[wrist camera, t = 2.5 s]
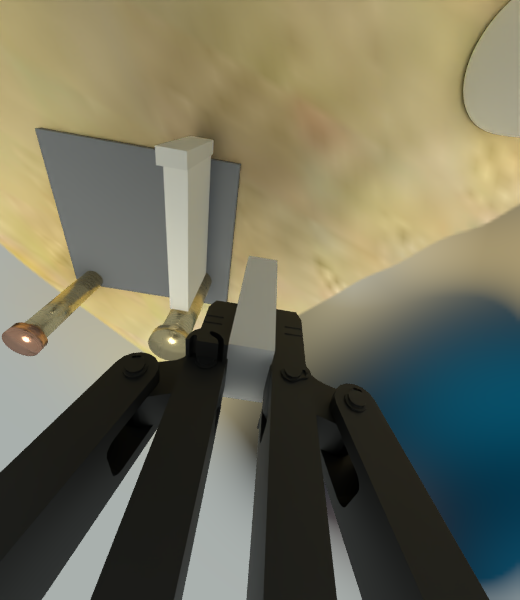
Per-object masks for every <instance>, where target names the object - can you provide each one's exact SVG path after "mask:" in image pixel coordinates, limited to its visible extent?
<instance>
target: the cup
mask: <svg viewBox="0 0 520 600" xmlns="http://www.w3.org/2000/svg"><path fill="white" fill-rule="evenodd" d="M463 97H464V104H465V108H466V110H467V113H468V115H469V117H470V119H471V120H472V121H473V122H474V123H475V124H476V125H477V126H478V127H479V128H481V129H483V130H484V131H487V132H489V133H492V134H497V135H502V136H510V137H519V138H520V0H511V1H510V2H509V3H508V4H507V5H506V6H505V7H504V8H503V9H502V10H501V11H500V12H499V13H498V14H497V15H496V17H495V18H494V19H493V20H492V21H491V23H490V24H489V26H488V27H487V28H486V30H485V31H484V33H483V34H482V36H481V38H480V39H479V41H478V43H477V45H476V47H475V49H474V51H473V53H472V55H471V58H470V60H469V63H468V66H467V69H466V73H465V78H464V86H463Z"/></svg>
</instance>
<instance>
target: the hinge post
mask: <svg viewBox="0 0 520 600" xmlns="http://www.w3.org/2000/svg"><path fill="white" fill-rule="evenodd" d="M211 283H212V280H211V277H210V276H209V274H207V273H206V274H205V276H204V279H203V281H202V283H201V285H200V287H199V289H198V291H197V294H196V296H195V298H194V300H193V302H192V304H191V306H190V309H189V311H182V310H176V309H171V311H170V313H169V315H168V317H167V318H166V320H165V322H164V324H163V325H161V326H158V327H157V328H155V330H154V331H153V333H152V335H151V336H150V338H149V341H148V344H149V347H150V349H151V350H152V352H153V353H154V354H155V355H157V356H158V357H160V358H162V359H165V360H169V361H172V360H178V359H180V358H183V357H185V356H186V344H185V339H186V337H187V336H188V335H189V333H191V332H192V330H193V328H194V325H195V323H196V320H197V318H198V315H199V313H200V311H201V308H202V306H203V303H204V301H205V298H206V296H207V293H208V291H209V288H210V286H211Z"/></svg>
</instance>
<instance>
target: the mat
mask: <svg viewBox="0 0 520 600" xmlns="http://www.w3.org/2000/svg"><path fill="white" fill-rule="evenodd" d="M35 131H36V134H37V138H38V141H39V145H40V149H41V152H42V156H43V159H44V163H45V167H46V170H47V174H48V177H49V181H50V185H51V188H52V192H53V195H54V199H55V203H56V206H57V210H58V213H59V217H60V221H61V224H62V228H63V231H64V235H65V239H66V242H67V246H68V249H69V253H70V257H71V260H72V264H73V267H74V271H75V275H76V278H77V279H78V278H80V277H81V276H82V275H83V274H84V273H86V272H87V271H94V272H96V273H98V274H99V275H100V276H101V277H102V279H103V283H102V285H101V286H103V287H109V288H115V289H121V290H127V291H134V292H140V293H146V294H152V295H158V296H165V297H170V295H169V275H168V255H167V235H166V215H165V194H164V174H163V166H158V165H156V157H155V148H149V147H144V146H138V145H132V144H127V143H121V142H116V141H110V140H105V139H99V138H93V137H88V136H82V135H77V134H71V133H65V132H60V131H54V130H49V129H43V128H35ZM240 166H241V164H238V163H233V162H227V161H222V160H216V159H211V168H210V191H209V215H208V239H207V262H206V273H207V274H209V276H210V277H211V280H212V283H211V286H210V288H209V291H208V293H207V296H206V298H205V301H204V303H208V304H213V303H214V302H215V301H216V300H218V301H224V302H227V296H228V286H229V276H230V266H231V256H232V246H233V236H234V226H235V216H236V206H237V196H238V186H239V176H240Z"/></svg>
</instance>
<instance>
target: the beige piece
mask: <svg viewBox="0 0 520 600" xmlns="http://www.w3.org/2000/svg"><path fill="white" fill-rule="evenodd" d="M213 142H214V140H212V139H206V138H201V137H195V136H187V137H184V138H180V139H176V140H173V141H169V142H166V143H162V144H158V145H155V157H156V165H158V166H163V174H164V194H165V215H166V235H167V255H168V275H169V295H170V309H176V310H182V311H189V309H190V306H191V304H192V302H193V300H194V298H195V296H196V294H197V291H198V289H199V287H200V285H201V283H202V281H203V279H204V276H205V274H206V262H207V239H208V215H209V191H210V168H211V155H213Z"/></svg>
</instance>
